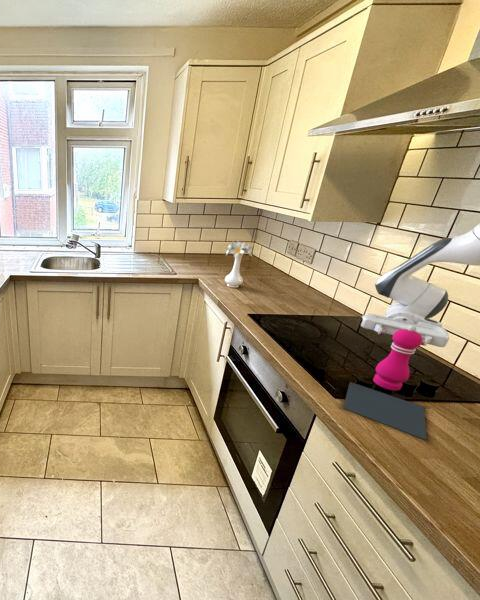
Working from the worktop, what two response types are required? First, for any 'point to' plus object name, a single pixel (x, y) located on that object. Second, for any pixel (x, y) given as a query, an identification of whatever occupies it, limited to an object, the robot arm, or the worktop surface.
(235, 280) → the flower vase
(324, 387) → the worktop surface
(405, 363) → the pepper mill
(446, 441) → the worktop surface
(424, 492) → the worktop surface
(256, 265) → the worktop surface
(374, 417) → the mat
